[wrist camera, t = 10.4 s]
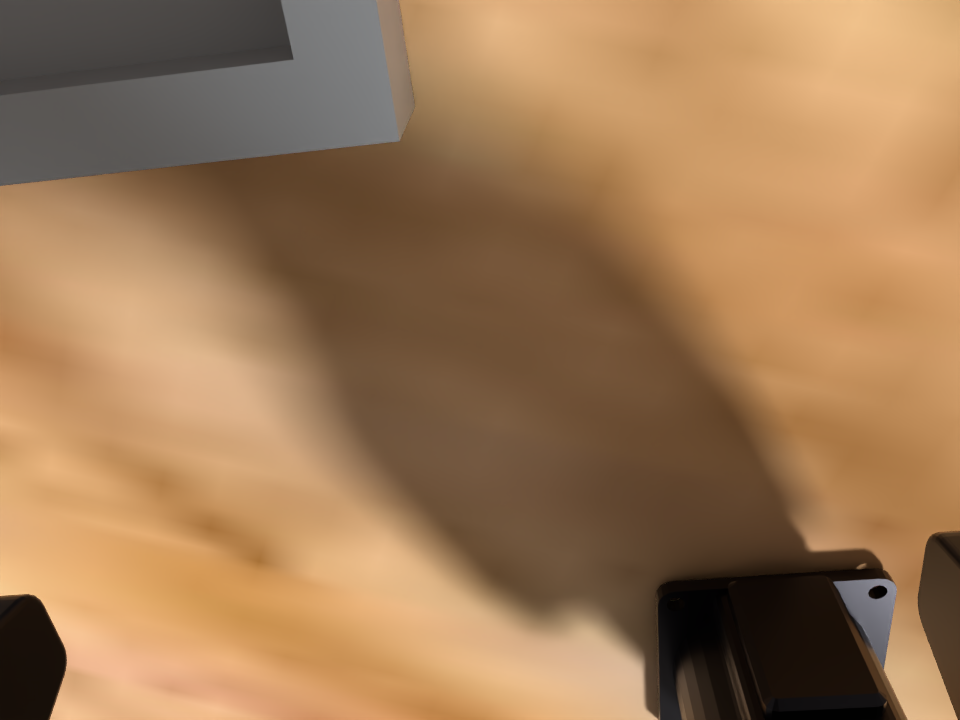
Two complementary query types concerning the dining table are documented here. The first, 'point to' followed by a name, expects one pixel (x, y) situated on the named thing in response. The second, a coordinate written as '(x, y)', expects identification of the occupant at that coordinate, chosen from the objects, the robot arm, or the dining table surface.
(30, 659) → the robot arm
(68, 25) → the tray
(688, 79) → the dining table surface
